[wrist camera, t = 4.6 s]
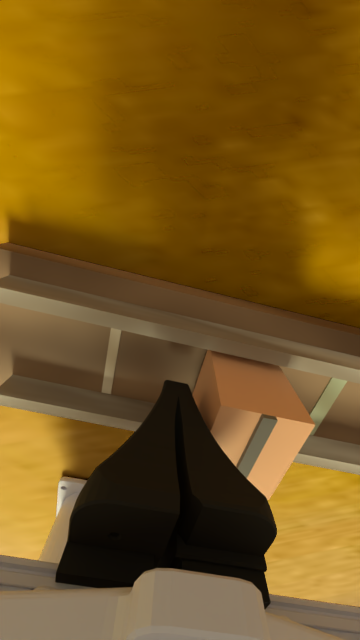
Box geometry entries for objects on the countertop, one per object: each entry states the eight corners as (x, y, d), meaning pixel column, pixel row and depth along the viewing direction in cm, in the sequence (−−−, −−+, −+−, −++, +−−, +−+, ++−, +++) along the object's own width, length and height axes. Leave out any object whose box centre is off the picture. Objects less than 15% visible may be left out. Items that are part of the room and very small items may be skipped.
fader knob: (245, 420, 17) (270, 504, 12) (187, 408, 16) (189, 489, 12) (274, 358, 15) (317, 428, 10) (209, 343, 14) (221, 409, 10)
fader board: (365, 453, 20) (397, 496, 17) (12, 382, 18) (-23, 416, 15) (447, 349, 16) (506, 381, 13) (8, 242, 14) (-41, 251, 11)
